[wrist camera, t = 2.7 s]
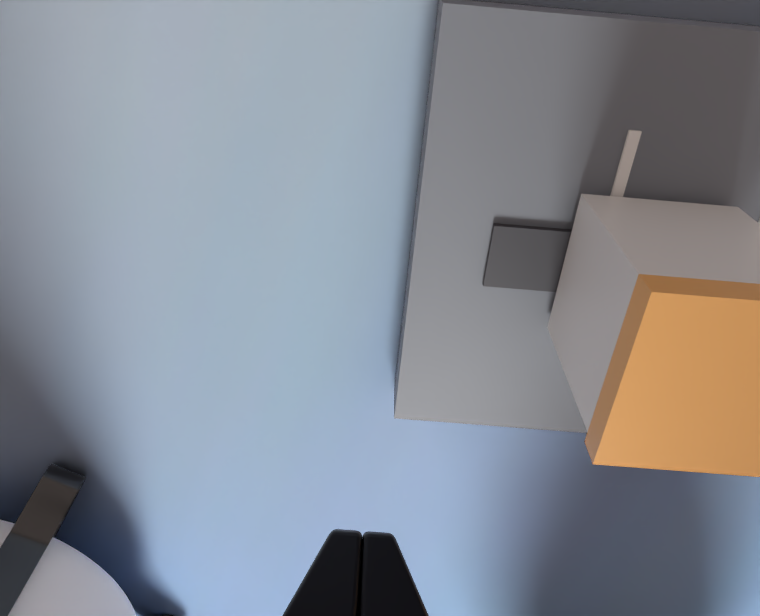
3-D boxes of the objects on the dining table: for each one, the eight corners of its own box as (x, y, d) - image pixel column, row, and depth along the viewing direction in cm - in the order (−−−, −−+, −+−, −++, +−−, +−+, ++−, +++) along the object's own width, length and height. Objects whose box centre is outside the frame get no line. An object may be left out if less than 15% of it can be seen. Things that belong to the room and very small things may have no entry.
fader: (688, 341, 18) (788, 479, 13) (542, 330, 18) (592, 463, 13) (743, 203, 16) (882, 310, 11) (578, 189, 16) (651, 292, 11)
